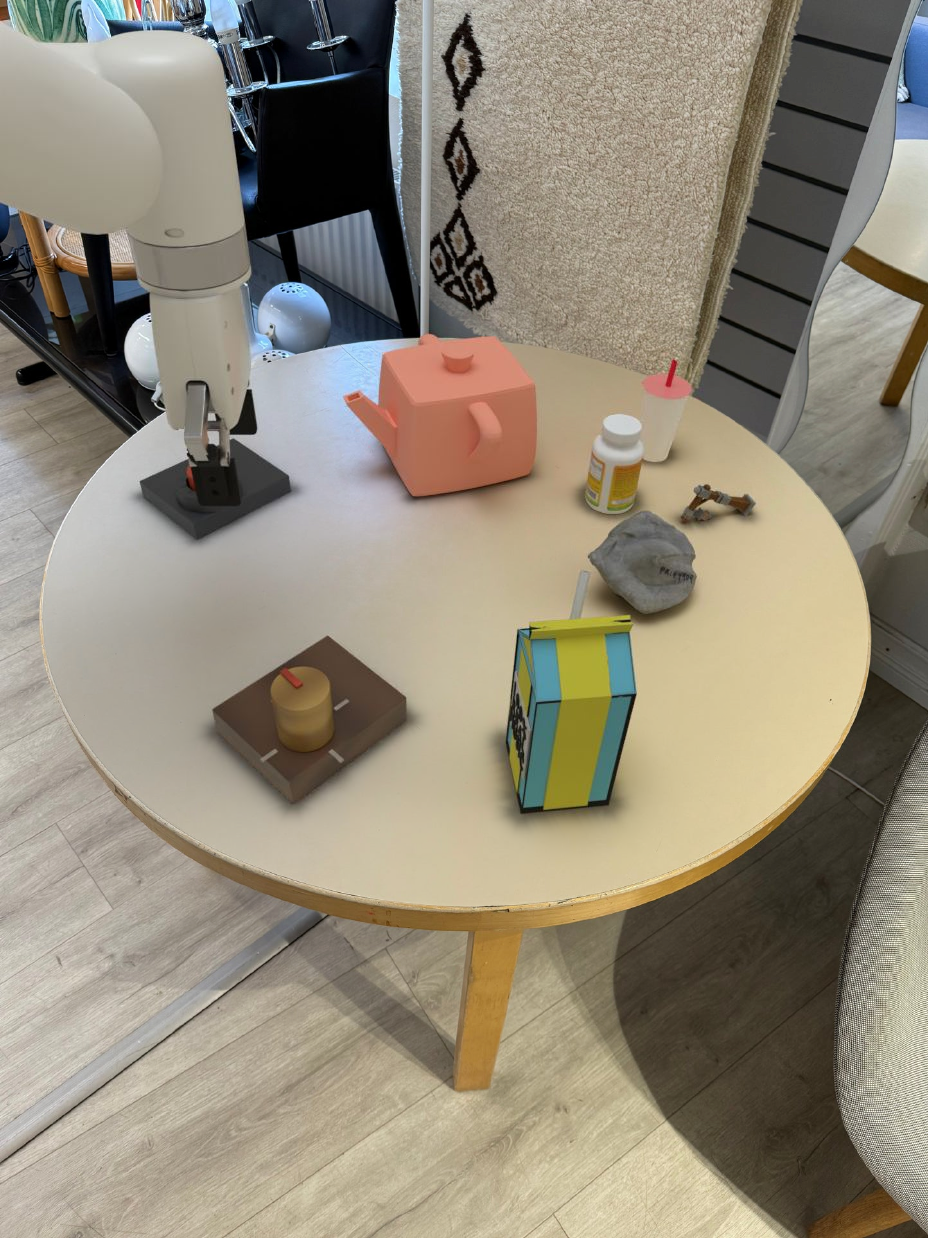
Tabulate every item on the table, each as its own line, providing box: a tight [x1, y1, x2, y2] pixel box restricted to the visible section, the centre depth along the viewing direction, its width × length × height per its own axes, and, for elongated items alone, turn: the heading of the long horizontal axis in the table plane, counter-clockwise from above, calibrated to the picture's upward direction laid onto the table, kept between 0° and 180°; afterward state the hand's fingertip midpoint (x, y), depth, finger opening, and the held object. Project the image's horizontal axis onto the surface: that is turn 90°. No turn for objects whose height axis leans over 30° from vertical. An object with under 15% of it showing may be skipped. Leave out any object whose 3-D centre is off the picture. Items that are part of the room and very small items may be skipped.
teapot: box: [343, 333, 538, 497], centre depth 98 cm, size 20×22×14 cm
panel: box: [211, 635, 408, 805], centre depth 74 cm, size 12×11×3 cm
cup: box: [639, 358, 692, 463], centre depth 102 cm, size 5×5×12 cm
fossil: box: [587, 510, 698, 615], centre depth 86 cm, size 11×9×8 cm
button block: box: [139, 437, 292, 541], centre depth 96 cm, size 12×10×4 cm
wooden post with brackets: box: [680, 483, 757, 522], centre depth 96 cm, size 2×8×4 cm, turn 108°
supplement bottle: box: [584, 413, 644, 515], centre depth 96 cm, size 5×5×10 cm
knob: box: [271, 667, 335, 752], centre depth 69 cm, size 4×4×5 cm
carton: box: [505, 570, 638, 815], centre depth 66 cm, size 7×8×18 cm
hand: (230, 466), depth 72 cm, fingers open, 9 cm apart
